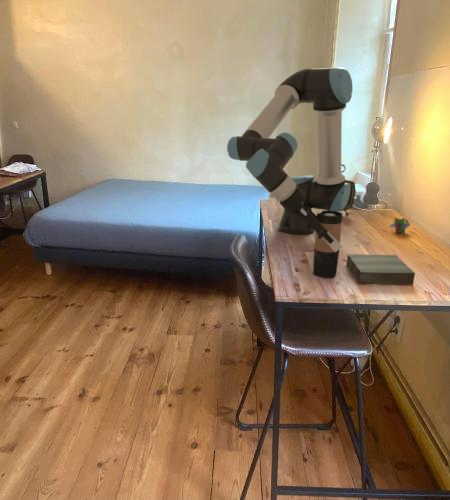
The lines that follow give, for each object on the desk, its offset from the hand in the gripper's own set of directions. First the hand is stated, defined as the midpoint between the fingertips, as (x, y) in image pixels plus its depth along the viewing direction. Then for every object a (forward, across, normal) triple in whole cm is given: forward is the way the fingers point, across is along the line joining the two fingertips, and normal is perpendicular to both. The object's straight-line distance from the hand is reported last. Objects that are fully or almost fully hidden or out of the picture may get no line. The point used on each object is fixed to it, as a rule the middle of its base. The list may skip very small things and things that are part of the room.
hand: (333, 242), depth 132 cm
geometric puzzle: (+35, -48, +20) cm, 63 cm away
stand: (+18, 0, +3) cm, 19 cm away
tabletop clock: (+20, -76, +5) cm, 79 cm away
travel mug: (+7, 0, -9) cm, 11 cm away
